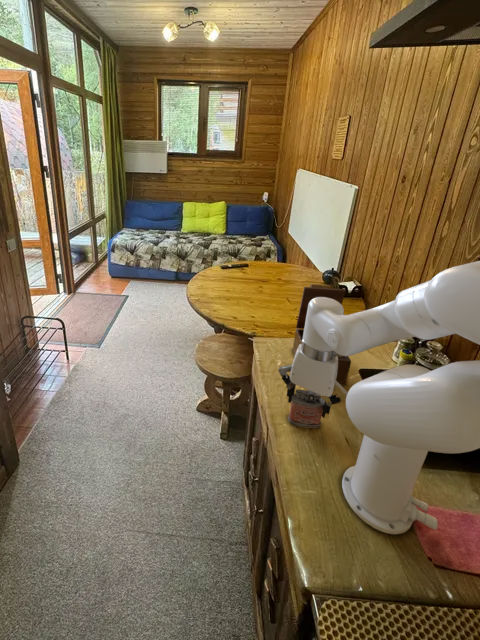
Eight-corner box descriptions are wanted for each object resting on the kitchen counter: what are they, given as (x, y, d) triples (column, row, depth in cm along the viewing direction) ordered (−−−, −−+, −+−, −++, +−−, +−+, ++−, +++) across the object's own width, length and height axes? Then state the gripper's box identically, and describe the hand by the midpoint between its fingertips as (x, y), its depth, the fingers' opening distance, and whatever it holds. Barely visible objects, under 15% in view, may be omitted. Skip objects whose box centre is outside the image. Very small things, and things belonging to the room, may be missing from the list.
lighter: (318, 418, 81) (324, 388, 78) (321, 429, 78) (328, 398, 75) (287, 414, 82) (292, 384, 79) (289, 425, 79) (294, 394, 76)
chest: (345, 385, 93) (351, 361, 90) (302, 381, 94) (307, 357, 91) (329, 352, 108) (333, 331, 105) (292, 349, 109) (296, 328, 106)
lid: (345, 290, 97) (340, 281, 102) (304, 288, 98) (301, 279, 103) (334, 331, 104) (329, 320, 109) (296, 328, 106) (293, 318, 110)
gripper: (360, 353, 71) (346, 412, 77) (286, 329, 80) (278, 383, 86) (357, 371, 65) (341, 433, 71) (276, 343, 74) (269, 400, 80)
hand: (307, 405), depth 78 cm, fingers closed on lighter, 7 cm apart
